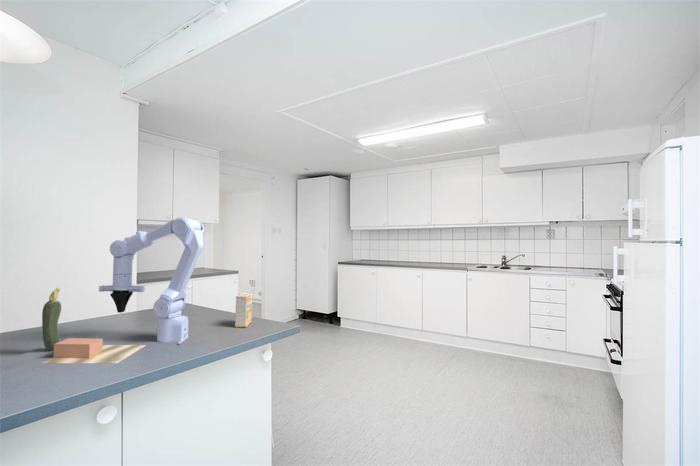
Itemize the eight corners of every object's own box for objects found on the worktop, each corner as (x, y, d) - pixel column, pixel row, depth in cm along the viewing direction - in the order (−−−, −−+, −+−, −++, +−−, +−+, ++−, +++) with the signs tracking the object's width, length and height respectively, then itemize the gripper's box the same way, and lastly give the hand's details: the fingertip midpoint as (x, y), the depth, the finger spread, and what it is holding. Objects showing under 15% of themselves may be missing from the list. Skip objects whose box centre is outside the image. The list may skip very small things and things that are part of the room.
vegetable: (43, 356, 101) (46, 289, 101) (38, 353, 103) (41, 288, 103) (61, 352, 104) (64, 288, 105) (56, 349, 107) (59, 286, 107)
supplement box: (246, 328, 138) (247, 296, 138) (234, 327, 138) (235, 295, 138) (252, 323, 146) (253, 293, 146) (241, 322, 146) (242, 292, 146)
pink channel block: (102, 351, 104) (102, 338, 104) (89, 358, 98) (89, 344, 98) (68, 351, 103) (69, 338, 103) (53, 357, 98) (54, 343, 98)
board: (146, 347, 111) (146, 337, 111) (116, 365, 95) (117, 354, 95) (82, 347, 109) (82, 337, 109) (41, 366, 93) (41, 354, 93)
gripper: (149, 273, 125) (148, 309, 124) (108, 272, 123) (106, 309, 123) (139, 275, 118) (137, 314, 117) (95, 274, 116) (93, 313, 116)
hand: (121, 311), depth 120 cm, fingers closed
